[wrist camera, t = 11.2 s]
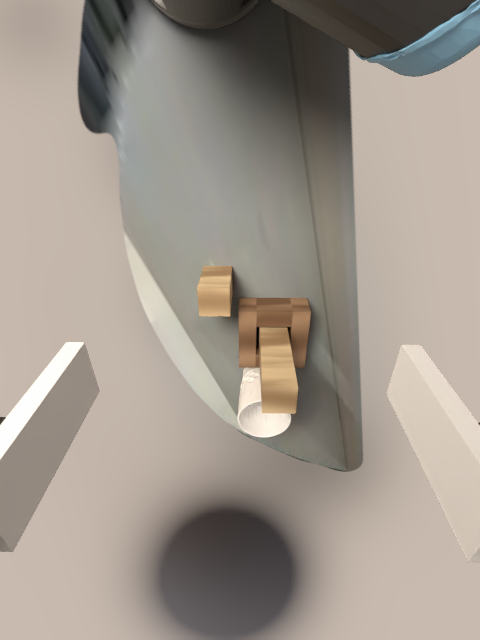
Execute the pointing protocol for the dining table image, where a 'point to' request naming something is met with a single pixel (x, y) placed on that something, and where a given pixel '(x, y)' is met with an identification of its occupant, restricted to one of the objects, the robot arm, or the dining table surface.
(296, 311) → the walnut hole block
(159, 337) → the dining table surface
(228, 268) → the short oak peg
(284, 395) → the long oak peg
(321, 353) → the dining table surface
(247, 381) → the white cup
